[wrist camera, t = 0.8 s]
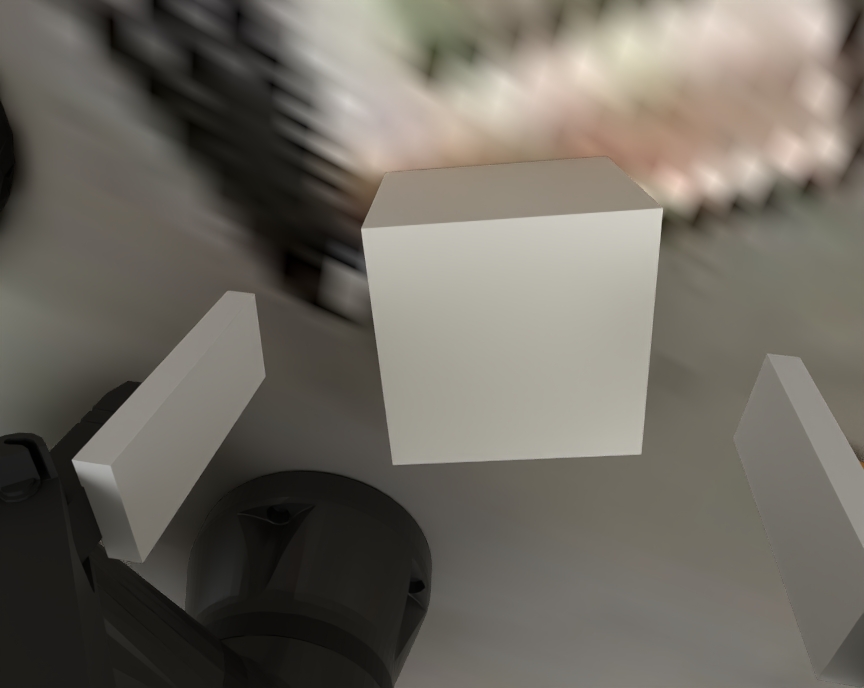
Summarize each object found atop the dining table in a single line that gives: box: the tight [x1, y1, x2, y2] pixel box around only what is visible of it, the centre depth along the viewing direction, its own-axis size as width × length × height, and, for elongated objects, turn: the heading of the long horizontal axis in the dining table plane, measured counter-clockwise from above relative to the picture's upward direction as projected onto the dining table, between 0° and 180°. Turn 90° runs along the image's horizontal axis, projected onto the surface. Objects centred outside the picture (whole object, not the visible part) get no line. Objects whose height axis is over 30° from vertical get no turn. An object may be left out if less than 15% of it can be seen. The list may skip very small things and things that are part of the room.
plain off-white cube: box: [361, 156, 663, 465], centre depth 28 cm, size 10×10×9 cm
